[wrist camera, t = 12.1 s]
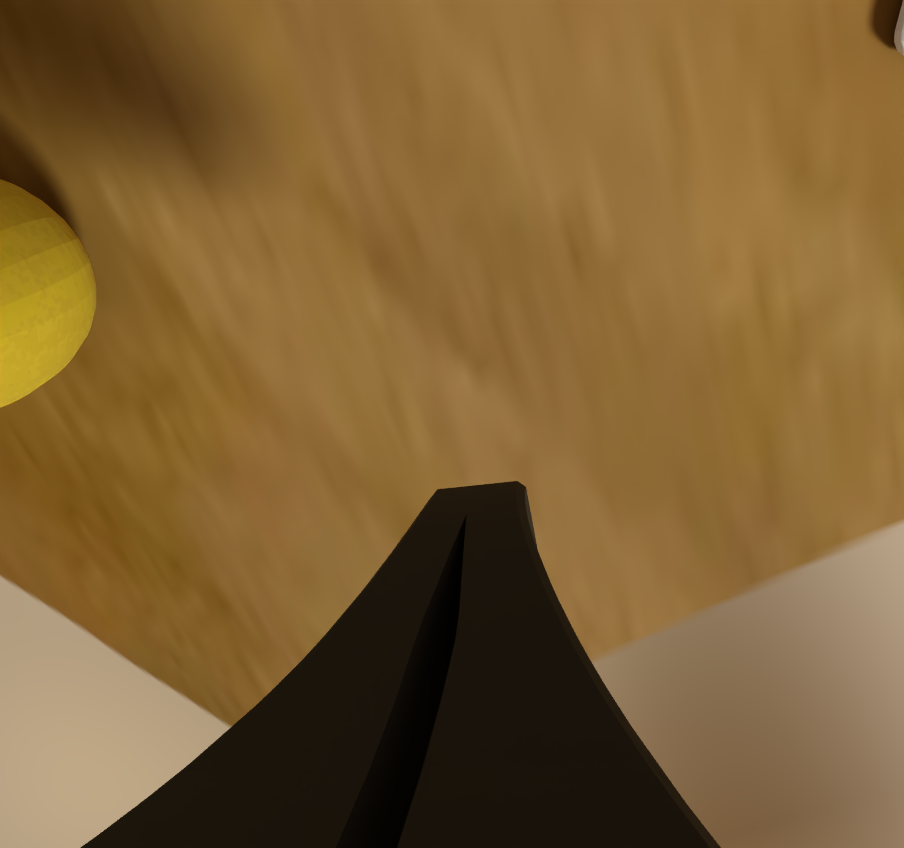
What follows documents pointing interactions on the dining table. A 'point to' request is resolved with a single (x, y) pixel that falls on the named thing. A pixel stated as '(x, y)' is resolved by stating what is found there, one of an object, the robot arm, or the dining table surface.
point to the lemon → (39, 293)
